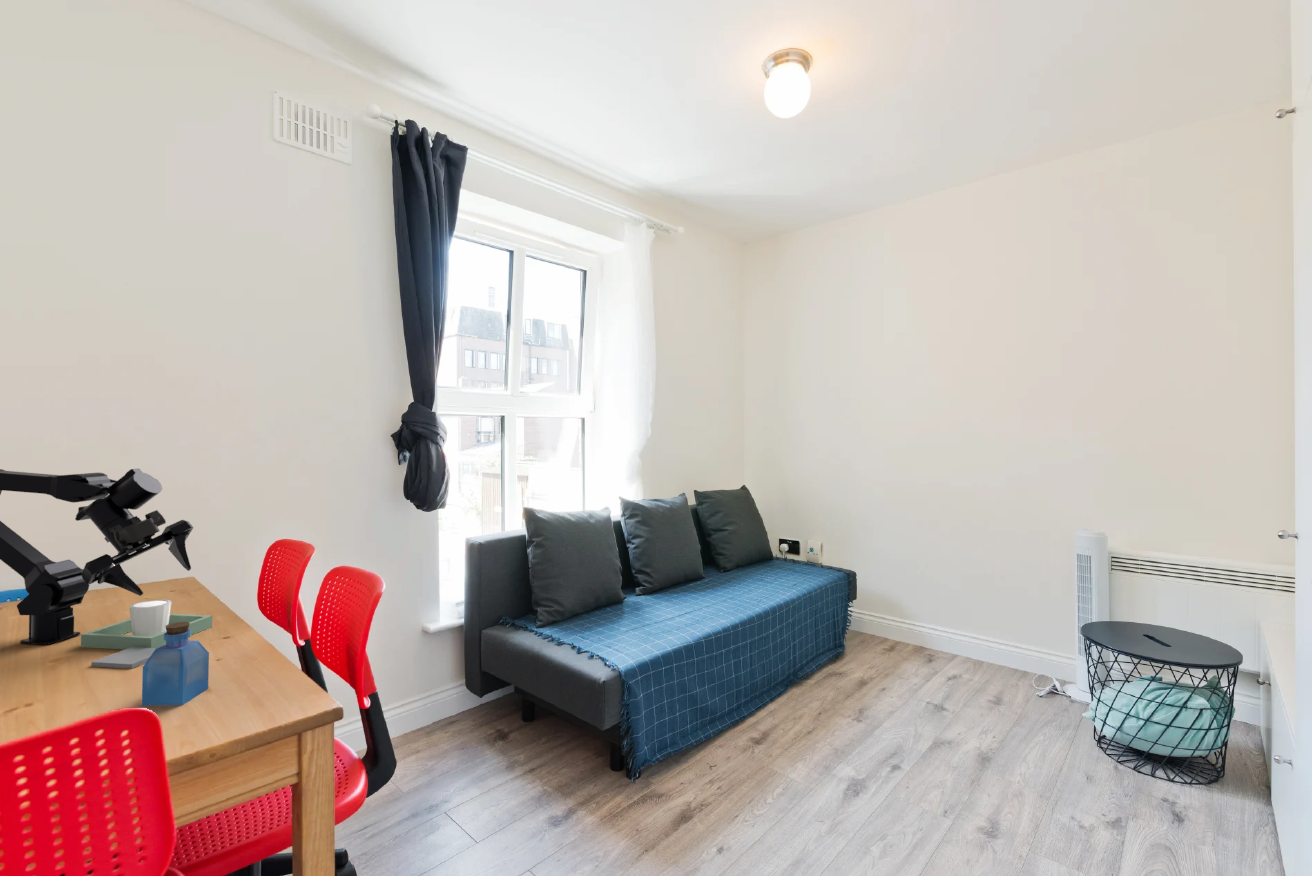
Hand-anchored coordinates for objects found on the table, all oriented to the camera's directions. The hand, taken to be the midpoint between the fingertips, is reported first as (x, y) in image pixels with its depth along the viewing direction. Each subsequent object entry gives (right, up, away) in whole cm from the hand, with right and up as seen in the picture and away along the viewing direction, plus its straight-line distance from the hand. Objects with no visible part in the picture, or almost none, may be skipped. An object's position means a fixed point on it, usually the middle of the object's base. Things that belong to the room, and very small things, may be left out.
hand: (166, 581), depth 126 cm
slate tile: (+2, -12, -11) cm, 16 cm away
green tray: (-5, -12, +2) cm, 13 cm away
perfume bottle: (+23, -13, -26) cm, 37 cm away
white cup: (-5, -12, +2) cm, 13 cm away
